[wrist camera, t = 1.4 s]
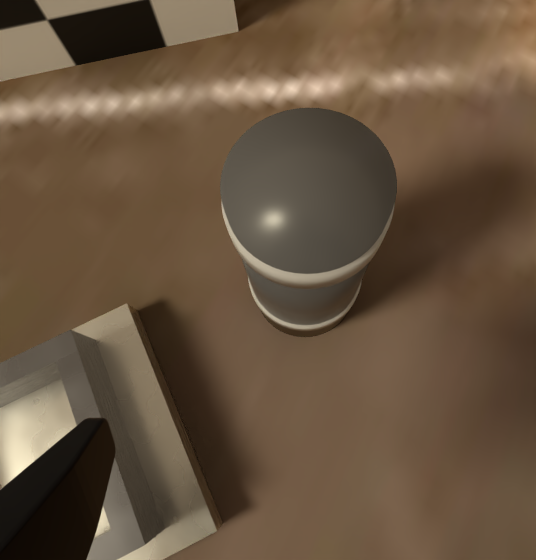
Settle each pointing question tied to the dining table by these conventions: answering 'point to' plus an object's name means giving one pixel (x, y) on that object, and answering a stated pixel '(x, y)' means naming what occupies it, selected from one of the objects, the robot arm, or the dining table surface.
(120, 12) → the checkerboard
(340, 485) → the dining table surface
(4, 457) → the white base plate
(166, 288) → the dining table surface
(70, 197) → the dining table surface
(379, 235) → the grey rounded cylinder
